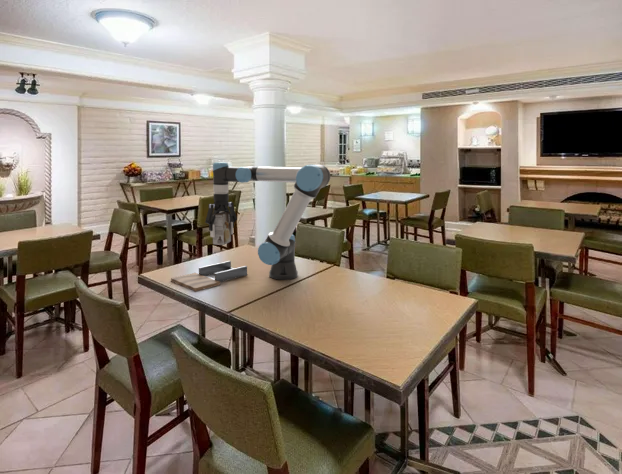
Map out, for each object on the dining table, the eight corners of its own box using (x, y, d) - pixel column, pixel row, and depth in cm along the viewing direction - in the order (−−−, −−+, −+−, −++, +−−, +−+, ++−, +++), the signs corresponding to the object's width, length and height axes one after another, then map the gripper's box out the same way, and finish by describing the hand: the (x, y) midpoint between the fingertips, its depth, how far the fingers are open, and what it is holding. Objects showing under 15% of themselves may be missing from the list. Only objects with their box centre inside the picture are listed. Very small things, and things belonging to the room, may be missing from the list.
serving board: (220, 284, 205) (220, 281, 204) (195, 291, 194) (195, 288, 194) (195, 275, 219) (195, 272, 219) (171, 281, 209) (170, 278, 208)
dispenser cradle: (247, 275, 222) (247, 266, 221) (216, 283, 207) (215, 273, 206) (229, 269, 231) (229, 260, 230) (199, 276, 217) (198, 267, 216)
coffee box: (220, 240, 220) (219, 210, 217) (231, 241, 219) (230, 211, 216) (212, 244, 211) (211, 213, 208) (224, 245, 210) (223, 214, 207)
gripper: (234, 191, 221) (235, 231, 225) (196, 193, 204) (198, 237, 208) (243, 192, 216) (244, 233, 220) (205, 195, 199) (206, 239, 203)
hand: (221, 235), depth 214 cm, fingers closed on coffee box, 11 cm apart
